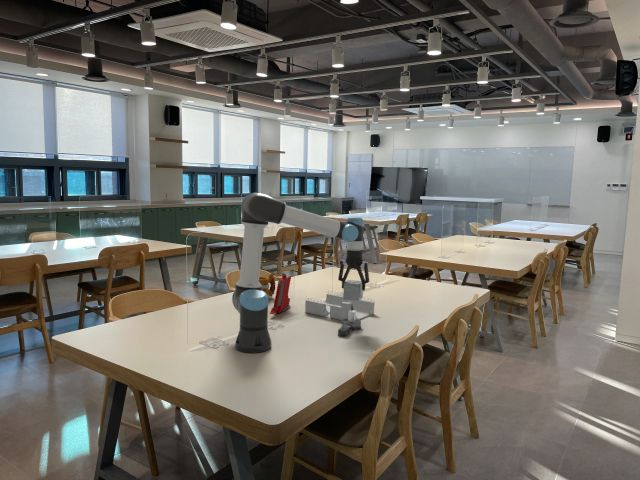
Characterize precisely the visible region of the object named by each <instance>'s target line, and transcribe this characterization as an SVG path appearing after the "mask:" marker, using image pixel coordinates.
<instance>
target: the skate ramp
mask: <svg viewBox="0 0 640 480" xmlns="http://www.w3.org/2000/svg"><path fill="white" fill-rule="evenodd" d="M330 291H331V292H330ZM330 291H326V298H325V300H324V301H322V300H320V299H319V300H317V299H313V298H309V297H307V299H305V302H304V303H305V308H304V309H305V310H304V312H305V313H308V314H311V315H315V316H316V315H317V316H321V317H325V318H330V319H334V320H338V321H343V320H344V319H348V311H350V310H353V311H356V319H358V320H360V321H361V320H363V319H365V318H368V317H369V316H372V315H375V301H373V300H372V298H371V297H370V298H367V297H363V298H362V299H360V300H359V301H355V300H346V299H343V293H340V294H339V291H338V292H336V291H334V292H333V291H332V290H330Z"/></svg>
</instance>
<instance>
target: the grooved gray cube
mask: <svg viewBox="0 0 640 480" xmlns="http://www.w3.org/2000/svg"><path fill="white" fill-rule="evenodd" d="M361 283H362V282H361V280H353V279H347V280H346V281H345V282H344V289H343V293H342V296H343V299H346V300H355V301H359V300H360V299H362V300H363V298H364V296H363V297H362V298H360V284H361Z"/></svg>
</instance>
